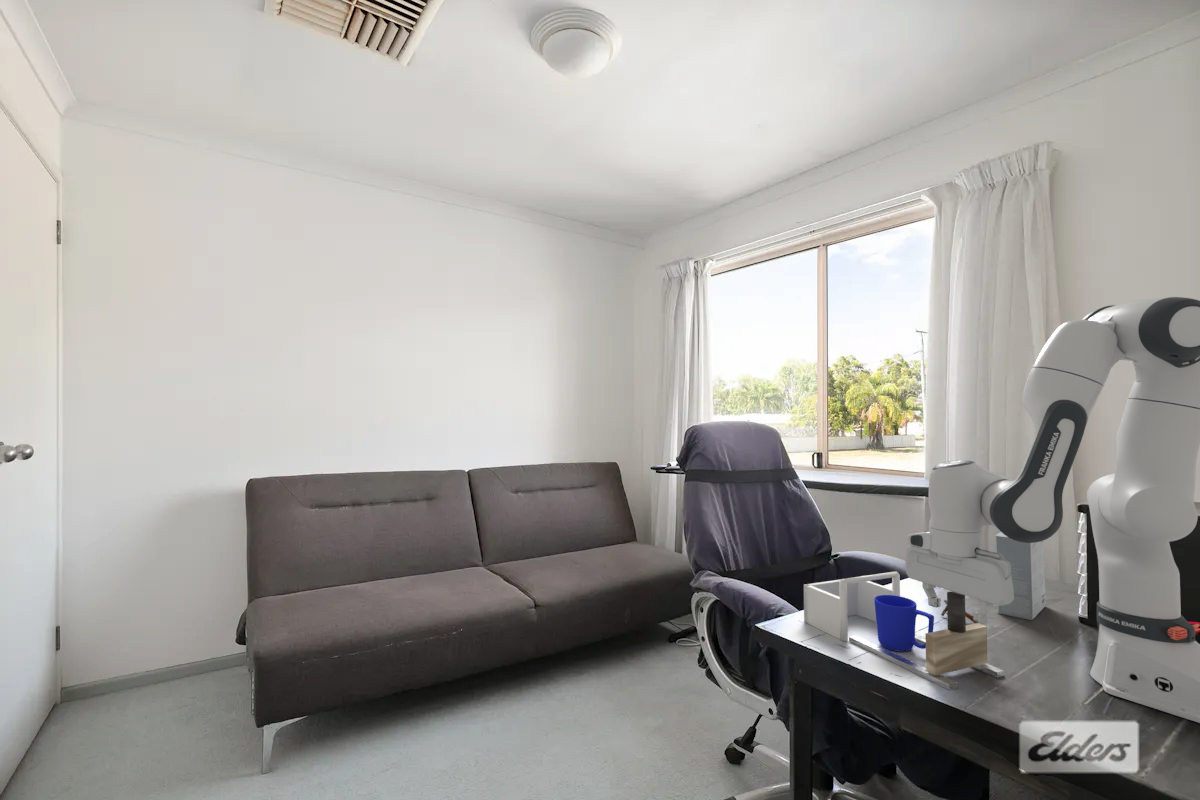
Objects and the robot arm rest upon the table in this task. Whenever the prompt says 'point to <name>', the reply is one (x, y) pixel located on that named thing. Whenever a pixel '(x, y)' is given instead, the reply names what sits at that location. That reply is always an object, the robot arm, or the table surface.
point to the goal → (844, 601)
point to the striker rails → (917, 668)
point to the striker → (956, 641)
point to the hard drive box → (1023, 576)
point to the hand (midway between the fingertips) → (956, 614)
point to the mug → (898, 622)
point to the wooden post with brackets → (965, 613)
